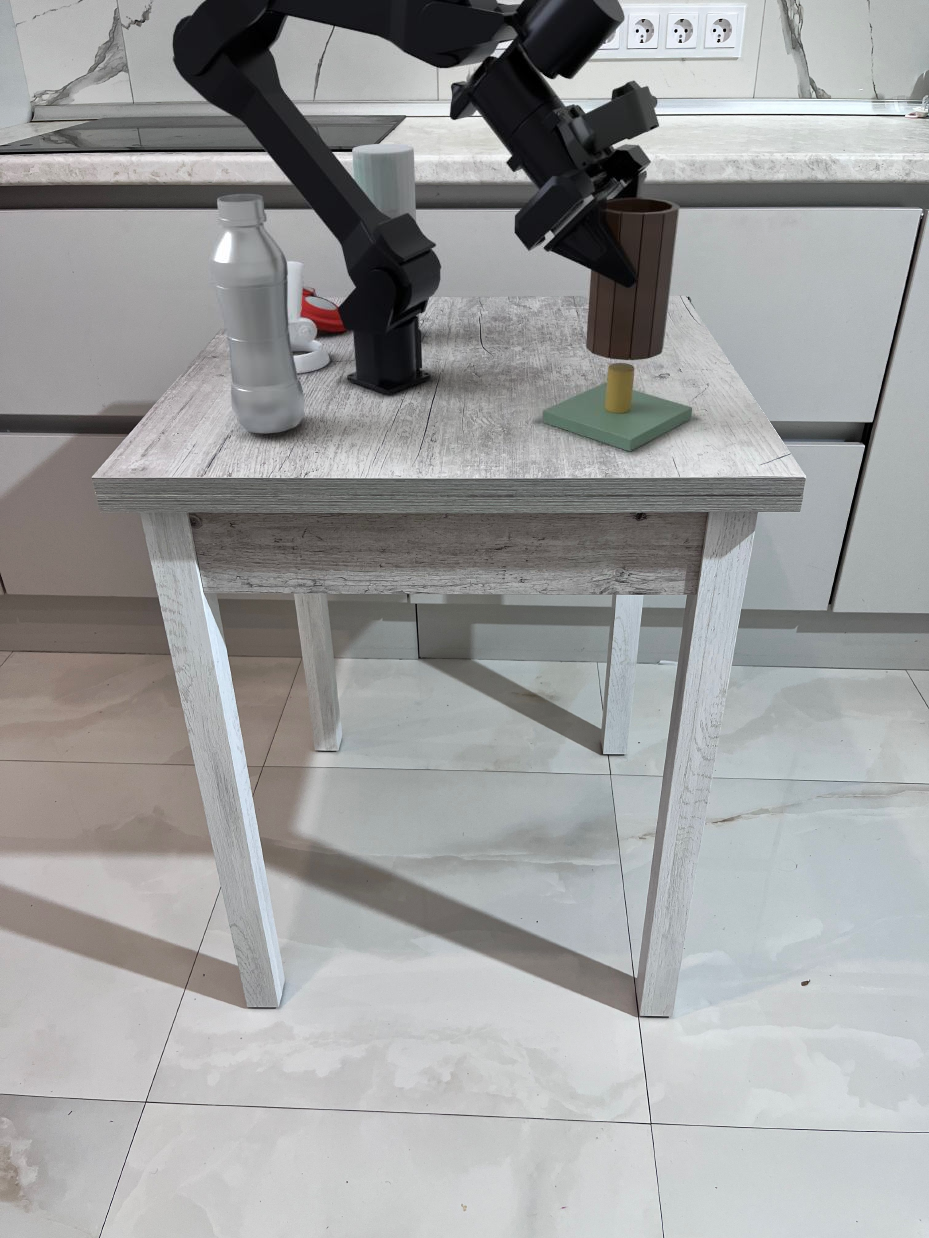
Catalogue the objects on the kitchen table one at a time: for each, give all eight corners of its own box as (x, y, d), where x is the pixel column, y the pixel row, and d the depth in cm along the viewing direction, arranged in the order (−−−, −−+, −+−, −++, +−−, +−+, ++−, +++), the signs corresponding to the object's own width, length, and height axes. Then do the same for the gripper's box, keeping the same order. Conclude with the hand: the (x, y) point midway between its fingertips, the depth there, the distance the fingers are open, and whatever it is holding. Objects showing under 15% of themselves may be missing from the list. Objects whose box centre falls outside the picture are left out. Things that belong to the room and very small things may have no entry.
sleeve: (580, 356, 83) (590, 211, 76) (593, 333, 88) (603, 196, 81) (658, 363, 81) (675, 215, 74) (666, 339, 86) (682, 199, 80)
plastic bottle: (312, 436, 86) (287, 202, 74) (238, 446, 84) (200, 208, 73) (302, 411, 91) (277, 188, 79) (232, 419, 89) (195, 193, 78)
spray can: (354, 340, 109) (339, 150, 97) (388, 325, 113) (377, 142, 102) (398, 350, 106) (388, 154, 94) (431, 334, 110) (426, 146, 99)
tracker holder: (369, 317, 112) (301, 314, 105) (359, 351, 114) (293, 351, 107) (312, 274, 118) (244, 269, 111) (304, 308, 120) (237, 305, 113)
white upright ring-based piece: (329, 290, 107) (338, 267, 100) (323, 393, 107) (332, 377, 100) (263, 279, 105) (267, 255, 98) (256, 385, 104) (260, 367, 98)
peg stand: (630, 451, 82) (635, 395, 79) (542, 422, 88) (544, 368, 85) (690, 419, 88) (698, 365, 85) (605, 393, 94) (609, 342, 91)
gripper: (558, 52, 66) (692, 232, 68) (638, 38, 80) (747, 188, 82) (459, 167, 73) (583, 326, 75) (548, 136, 87) (650, 271, 89)
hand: (646, 274), depth 80 cm, fingers closed on sleeve, 7 cm apart
